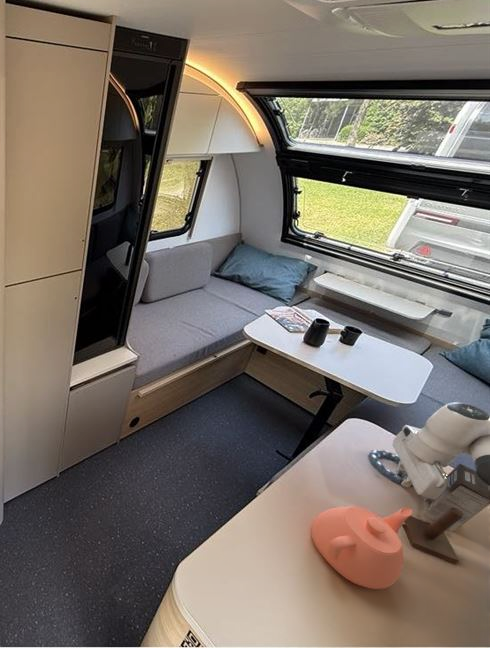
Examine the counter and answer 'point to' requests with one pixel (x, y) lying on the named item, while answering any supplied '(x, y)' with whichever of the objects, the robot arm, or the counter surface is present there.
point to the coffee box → (460, 496)
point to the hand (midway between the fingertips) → (401, 479)
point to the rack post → (433, 534)
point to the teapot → (361, 544)
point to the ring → (380, 468)
